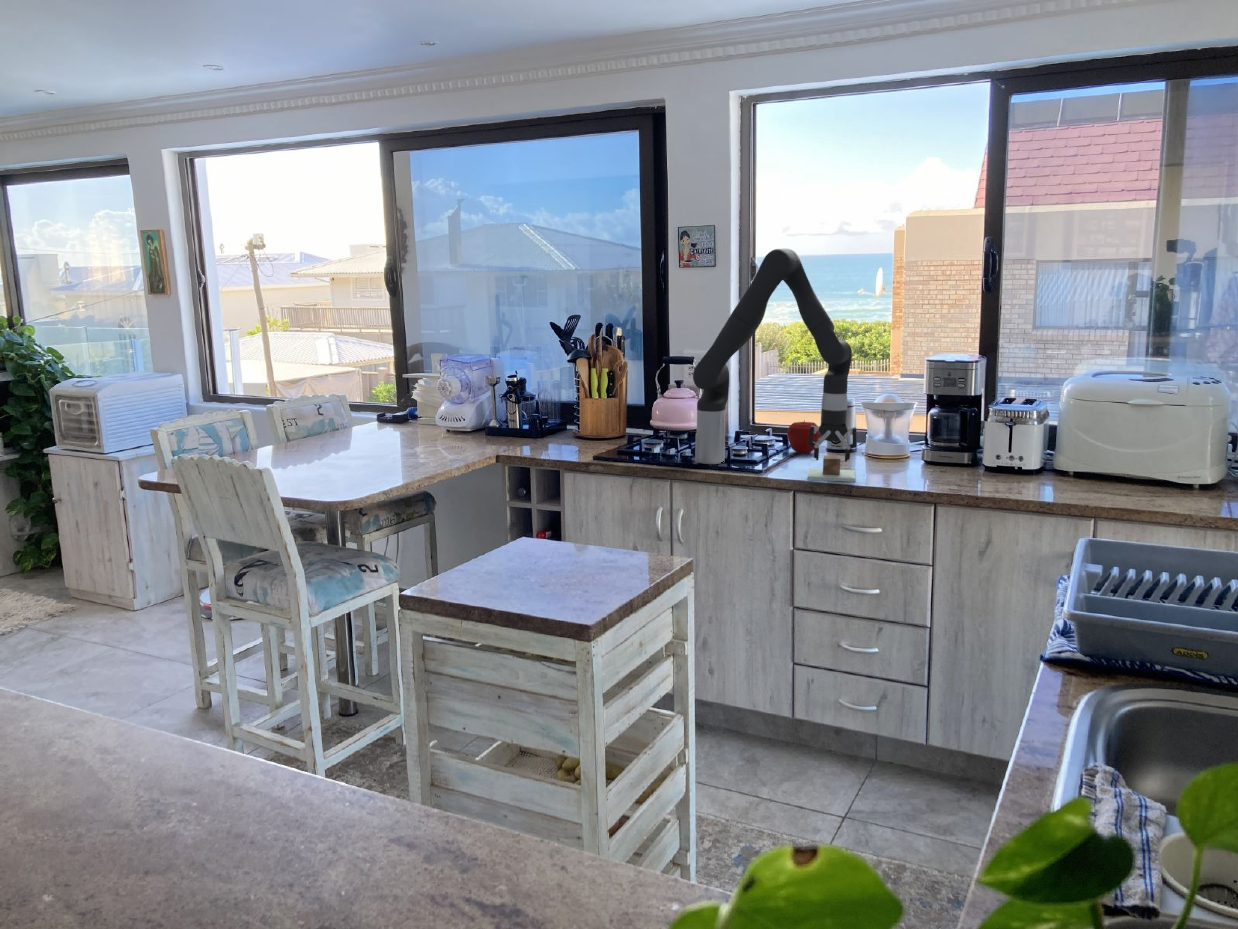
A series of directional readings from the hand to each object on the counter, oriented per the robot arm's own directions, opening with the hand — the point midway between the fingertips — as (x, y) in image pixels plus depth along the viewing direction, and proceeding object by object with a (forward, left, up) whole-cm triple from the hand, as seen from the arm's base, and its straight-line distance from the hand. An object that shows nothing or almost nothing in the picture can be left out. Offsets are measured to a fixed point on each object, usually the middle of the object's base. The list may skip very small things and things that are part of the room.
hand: (831, 460), depth 296 cm
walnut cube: (0, 0, -4) cm, 4 cm away
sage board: (0, 0, -5) cm, 5 cm away
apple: (-10, +36, -5) cm, 38 cm away
